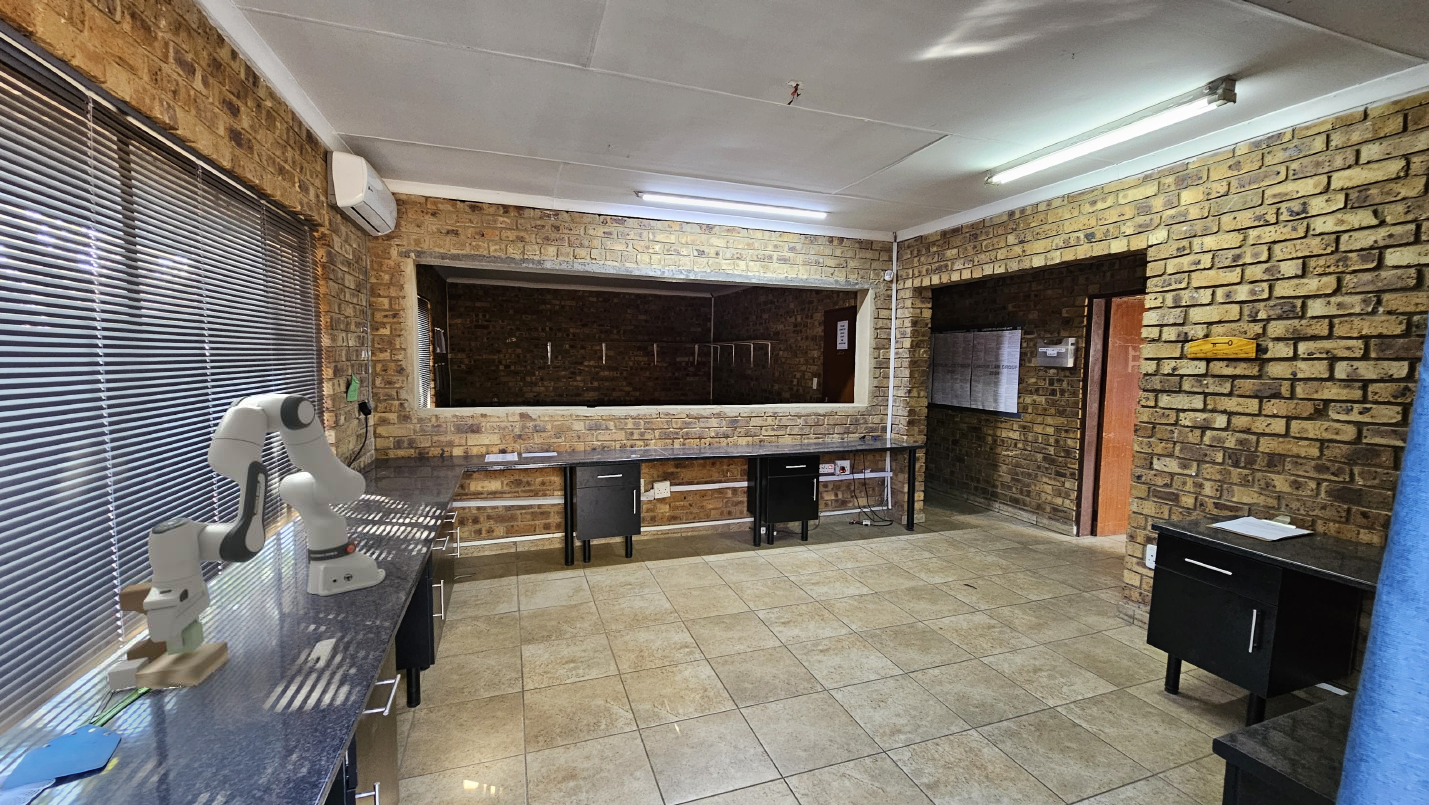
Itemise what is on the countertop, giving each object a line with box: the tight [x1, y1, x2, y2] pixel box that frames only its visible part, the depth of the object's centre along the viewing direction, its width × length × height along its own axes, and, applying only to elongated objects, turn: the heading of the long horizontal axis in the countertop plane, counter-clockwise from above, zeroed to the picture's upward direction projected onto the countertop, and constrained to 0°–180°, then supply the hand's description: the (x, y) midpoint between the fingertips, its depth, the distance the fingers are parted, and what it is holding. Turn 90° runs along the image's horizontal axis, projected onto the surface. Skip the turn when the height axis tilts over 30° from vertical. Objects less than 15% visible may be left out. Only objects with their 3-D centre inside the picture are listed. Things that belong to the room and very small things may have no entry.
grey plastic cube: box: [107, 657, 149, 692], centre depth 136 cm, size 5×5×5 cm
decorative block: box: [118, 581, 167, 664], centre depth 146 cm, size 11×6×20 cm, turn 115°
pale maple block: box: [135, 641, 230, 690], centre depth 139 cm, size 12×12×5 cm
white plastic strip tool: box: [307, 637, 337, 670], centre depth 146 cm, size 5×15×1 cm, turn 22°
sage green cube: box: [166, 621, 205, 655], centre depth 139 cm, size 5×5×5 cm
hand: (185, 641), depth 139 cm, fingers closed on sage green cube, 5 cm apart
